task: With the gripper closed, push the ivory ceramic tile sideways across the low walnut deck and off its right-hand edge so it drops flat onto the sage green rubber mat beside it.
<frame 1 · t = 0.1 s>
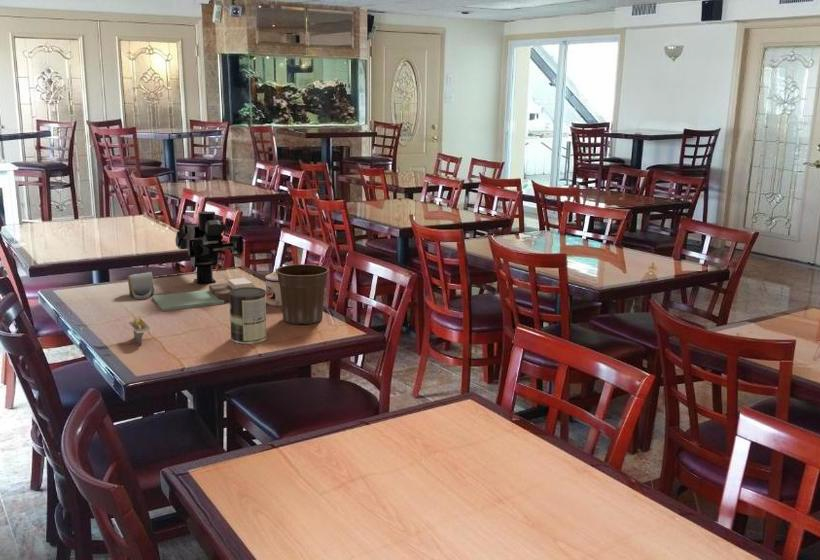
hand: (222, 250, 262), 17 cm above the table, tool horizontal, fingers open, 9 cm apart
ivory tile: (240, 286, 270), point 3 cm above the table, touching walnut deck
yellow flower bouquet: (141, 343, 221), on the table
plant pot: (303, 320, 244), on the table
coffee can: (248, 339, 225), on the table
ceramic mug: (142, 296, 268), on the table
sage mat: (188, 301, 262), on the table
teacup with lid: (281, 304, 261), on the table
walnut deck: (234, 295, 269), on the table
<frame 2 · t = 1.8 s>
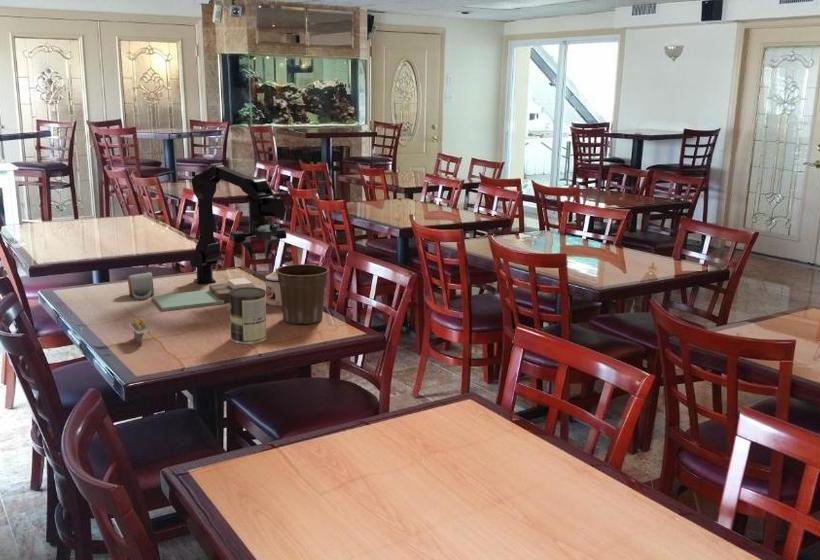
hand: (258, 259, 271), 12 cm above the table, tool pointing down, fingers open, 5 cm apart
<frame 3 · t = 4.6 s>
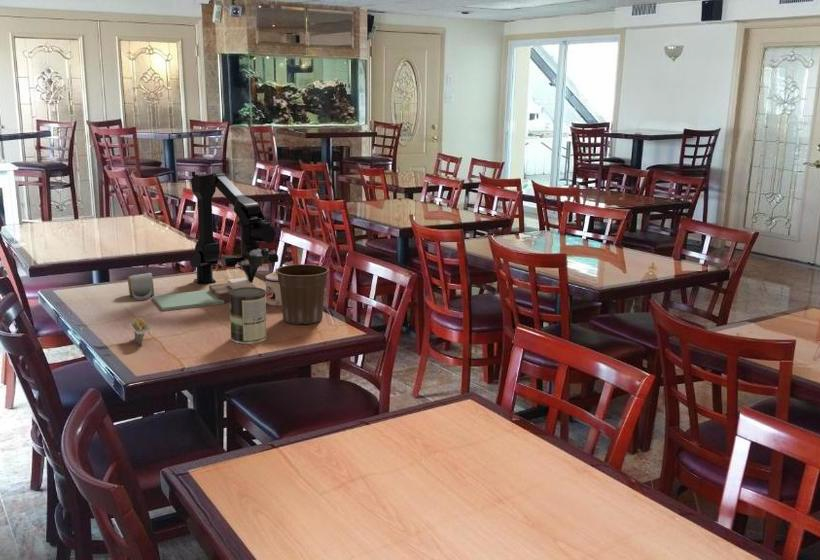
hand: (250, 283, 271), 4 cm above the table, tool pointing down, fingers closed
ivory tile: (240, 286, 269), point 3 cm above the table, touching gripper
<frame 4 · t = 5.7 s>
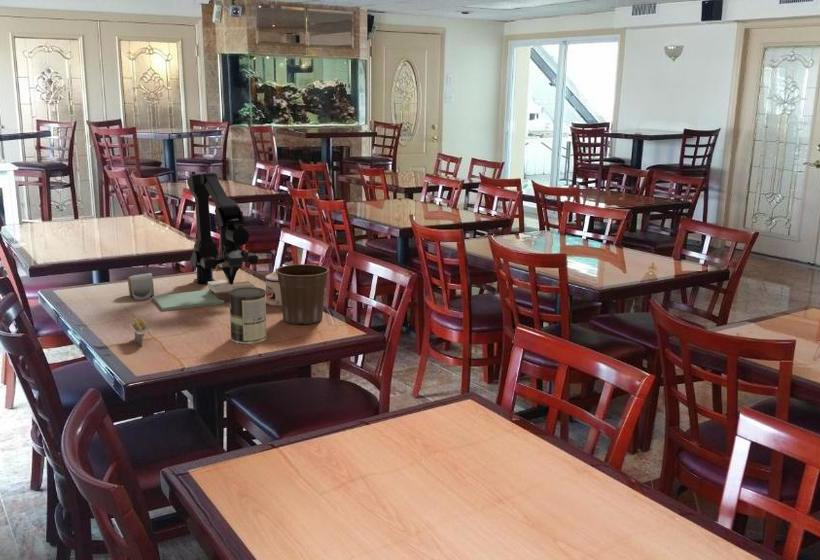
hand: (230, 285, 268), 4 cm above the table, tool pointing down, fingers closed
ivory tile: (220, 289, 266), point 3 cm above the table, touching gripper
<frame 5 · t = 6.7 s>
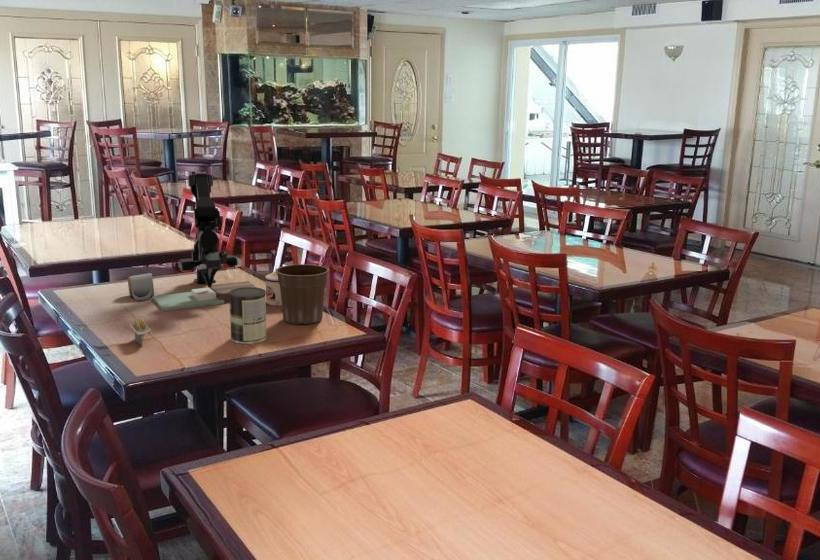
hand: (209, 287, 264), 4 cm above the table, tool pointing down, fingers closed
ivory tile: (203, 296, 264), point 1 cm above the table, touching sage mat
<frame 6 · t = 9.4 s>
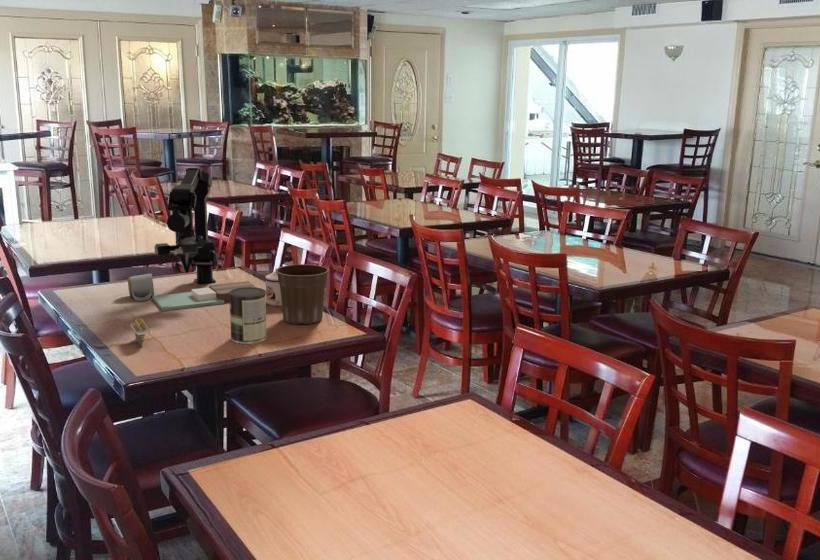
hand: (186, 272, 259), 10 cm above the table, tool pointing down, fingers closed
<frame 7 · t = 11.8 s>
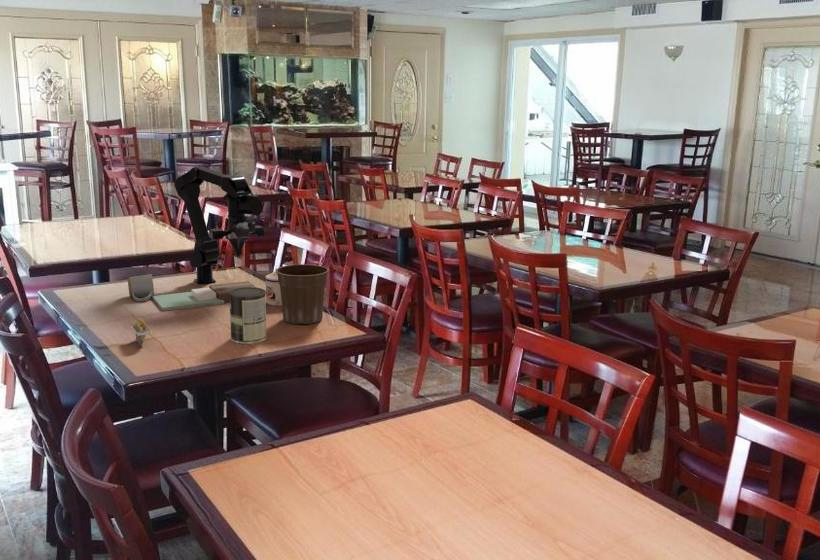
hand: (238, 256, 275), 12 cm above the table, tool pointing down, fingers closed
at the end: ivory tile inside the target area (5.7 cm from its centre), point 1.0 cm above the table; ivory tile tilted 0° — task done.
